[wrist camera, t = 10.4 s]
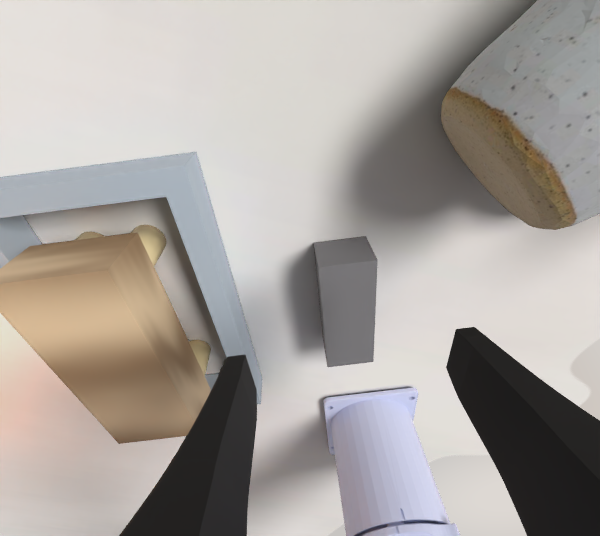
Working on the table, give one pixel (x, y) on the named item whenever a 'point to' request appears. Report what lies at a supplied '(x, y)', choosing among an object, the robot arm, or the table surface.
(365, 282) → the gray rectangular block
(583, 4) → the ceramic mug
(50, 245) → the tan rectangular block
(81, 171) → the peg frame
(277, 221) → the table surface
